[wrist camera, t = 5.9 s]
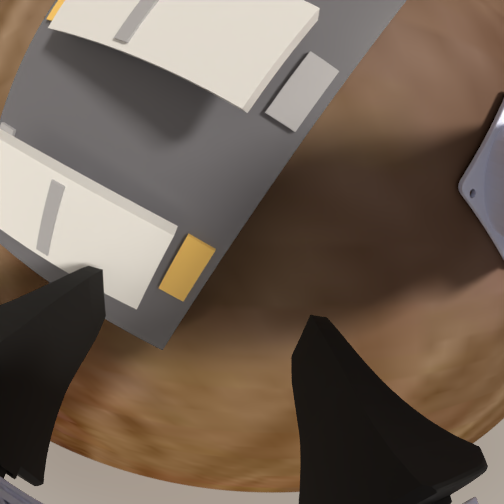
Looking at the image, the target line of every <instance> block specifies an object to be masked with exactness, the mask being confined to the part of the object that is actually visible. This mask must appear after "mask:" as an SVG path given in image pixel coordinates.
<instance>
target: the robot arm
mask: <svg viewBox="0 0 504 504" xmlns="http://www.w3.org/2000/svg"><path fill="white" fill-rule="evenodd" d="M458 188H459V192H460V194H461V195H462V196H463V198H464V199H465V200H466V202H467V203H468V205H469V206H470V207H471V209H472V210H473V212H474V213H475V214H476V216H477V217H478V219H479V220H480V222H481V223H482V225H483V226H484V228H485V230H486V231H487V233H488V234H489V236H490V238H491V239H492V241H493V242H494V244H495V246H496V248H497V249H498V251H499V253H500V254H501V256H502V258H503V260H504V99H503V101H502V104H501V106H500V108H499V110H498V112H497V114H496V116H495V119H494V121H493V123H492V125H491V127H490V129H489V131H488V132H487V134H486V136H485V138H484V140H483V142H482V144H481V146H480V147H479V149H478V151H477V153H476V154H475V156H474V158H473V160H472V161H471V163H470V165H469V166H468V168H467V170H466V171H465V173H464V175H463V176H462V178H461V180H460V182H459V186H458ZM470 191H471V195H470ZM105 317H106V311H105V299H104V283H103V270H102V269H99V268H95V267H91V266H86V267H83V268H81V269H79V270H76V271H74V272H72V273H70V274H68V275H66V276H64V277H62V278H60V279H57V280H55V281H53V282H51V283H49V284H47V285H45V286H43V287H41V288H39V289H37V290H35V291H32V292H30V293H28V294H26V295H24V296H21V297H19V298H17V299H15V300H12V301H10V302H7V303H5V304H2V305H0V504H43V503H41V502H39V501H38V500H36V499H34V498H32V497H31V496H29V495H27V494H26V493H24V492H23V491H21V490H20V489H18V488H16V487H15V486H13V485H12V484H10V483H9V482H7V481H6V480H5V479H4V476H5V474H8V475H9V476H11V477H12V478H14V479H15V478H16V476H17V475H18V476H19V477H21V478H22V479H24V480H25V481H27V482H29V483H30V484H32V485H34V486H39V485H42V484H43V482H44V471H45V464H46V458H47V452H48V447H49V443H50V439H51V435H52V431H53V428H54V424H55V421H56V418H57V414H58V412H59V409H60V406H61V403H62V401H63V398H64V395H65V393H66V391H67V389H68V387H69V384H70V383H71V381H72V379H73V377H74V375H75V374H76V372H77V370H78V368H79V367H80V365H81V363H82V361H83V360H84V358H85V356H86V355H87V353H88V351H89V350H90V348H91V346H92V344H93V343H94V341H95V339H96V337H97V335H98V333H99V331H100V328H101V326H102V324H103V321H104V319H105ZM292 386H293V393H294V400H295V407H296V414H297V421H298V428H299V435H300V455H301V470H300V494H299V504H451V502H452V500H451V497H450V495H451V494H452V493H454V492H456V491H457V490H459V489H461V488H462V487H464V486H465V485H467V484H469V483H470V482H472V481H473V480H475V479H476V478H477V477H479V476H480V475H481V474H483V473H484V472H485V471H486V469H487V467H488V466H487V463H486V460H485V458H484V456H483V453H482V451H481V449H480V447H479V446H476V445H474V444H472V443H470V442H468V441H466V440H463V439H461V438H459V437H457V436H455V435H453V434H451V433H449V432H448V431H446V430H444V429H443V428H441V427H439V426H438V425H436V424H434V423H433V422H431V421H430V420H428V419H427V418H426V417H424V416H423V415H421V414H420V413H419V412H417V411H416V410H415V409H413V408H412V407H411V406H410V405H408V404H407V403H406V402H405V401H403V400H402V399H401V398H400V397H399V396H398V395H397V394H396V393H395V392H393V391H392V390H391V389H390V388H389V387H388V386H387V385H386V384H385V383H384V382H383V381H382V380H381V379H380V378H379V377H378V376H377V375H376V374H375V373H374V372H373V371H372V370H371V368H370V367H369V366H368V365H367V364H366V363H365V362H364V361H363V359H362V358H361V357H360V356H359V355H358V354H357V352H356V351H355V350H354V349H353V348H352V346H351V345H350V344H349V343H348V342H347V340H346V339H345V338H344V337H343V336H342V334H341V333H340V332H339V331H338V330H337V328H336V327H335V326H334V325H333V324H332V323H331V322H330V320H329V319H328V318H327V317H320V316H314V315H310V317H309V319H308V322H307V324H306V326H305V328H304V330H303V333H302V335H301V337H300V339H299V341H298V344H297V346H296V348H295V350H294V352H293V354H292ZM463 504H478V501H477V498H476V497H473V498H472V499H470V500H468V501H466V502H465V503H463Z"/></svg>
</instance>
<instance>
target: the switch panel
mask: <svg viewBox="0 0 504 504" xmlns="http://www.w3.org/2000/svg"><path fill="white" fill-rule="evenodd" d="M64 1H65V0H56V1H55V2H54V4H53V5H52V7H51V8H50V10H49V11H48V13H47V15H46V16H45V18H44V20H43V21H42V23H41V25H40V27H39V28H38V30H37V32H36V34H35V36H34V38H33V40H32V41H31V43H30V45H29V47H28V49H27V51H26V54H25V56H24V58H23V60H22V62H21V64H20V67H19V69H18V71H17V74H16V76H15V79H14V81H13V84H12V86H11V89H10V92H9V94H8V97H7V100H6V103H5V106H4V109H3V112H2V115H1V119H0V129H1V130H3V131H5V132H7V133H8V134H10V135H12V136H14V137H16V138H17V139H19V140H21V141H23V142H24V143H26V144H28V145H30V146H32V147H33V148H35V149H37V150H39V151H41V152H42V153H44V154H46V155H48V156H49V157H51V158H53V159H55V160H57V161H59V162H60V163H62V164H64V165H66V166H68V167H69V168H71V169H73V170H75V171H77V172H78V173H80V174H82V175H84V176H86V177H88V178H89V179H91V180H93V181H95V182H97V183H99V184H100V185H102V186H104V187H106V188H108V189H110V190H112V191H113V192H115V193H117V194H119V195H121V196H123V197H124V198H126V199H128V200H130V201H132V202H134V203H136V204H137V205H139V206H141V207H143V208H145V209H147V210H149V211H151V212H152V213H154V214H156V215H158V216H160V217H162V218H164V219H165V220H167V221H169V222H171V223H173V224H175V225H177V226H178V227H177V230H176V232H175V235H174V237H173V239H172V241H171V242H170V244H169V246H168V248H167V250H166V252H165V254H164V256H163V258H162V260H161V261H160V263H159V265H158V267H157V269H156V271H155V273H154V275H153V277H152V279H151V281H150V283H149V285H148V287H147V289H146V291H145V293H144V295H143V298H142V300H141V302H140V304H139V306H138V308H137V309H135V308H133V307H130V306H128V305H126V304H124V303H122V302H120V301H119V300H117V299H115V298H113V297H111V296H109V295H107V294H105V293H104V299H105V311H106V317H105V319H106V320H108V321H110V322H111V323H113V324H115V325H116V326H118V327H120V328H122V329H123V330H125V331H127V332H129V333H131V334H132V335H134V336H136V337H138V338H140V339H142V340H144V341H146V342H147V343H149V344H151V345H153V346H155V347H157V348H159V349H161V350H163V348H164V347H165V345H166V344H167V342H168V341H169V339H170V337H171V336H172V334H173V333H174V331H175V330H176V328H177V326H178V325H179V323H180V322H181V320H182V319H183V317H184V316H185V314H186V312H187V311H188V309H189V308H190V306H191V305H192V303H193V302H194V300H195V299H196V297H197V295H198V294H199V292H200V291H201V289H202V288H203V286H204V285H205V283H206V282H207V280H208V279H209V277H210V276H211V274H212V273H213V271H214V270H215V268H216V267H217V265H218V264H219V262H220V260H221V259H222V257H223V256H224V254H225V253H226V251H227V250H228V248H229V247H230V245H231V244H232V242H233V241H234V239H235V238H236V237H237V235H238V234H239V232H240V231H241V229H242V228H243V226H244V225H245V223H246V222H247V220H248V219H249V217H250V216H251V214H252V213H253V211H254V210H255V208H256V207H257V205H258V204H259V203H260V201H261V200H262V198H263V197H264V195H265V194H266V192H267V191H268V189H269V188H270V187H271V185H272V184H273V182H274V181H275V179H276V178H277V176H278V175H279V174H280V172H281V171H282V169H283V168H284V166H285V165H286V163H287V162H288V161H289V159H290V158H291V156H292V155H293V153H294V152H295V151H296V149H297V148H298V146H299V145H300V143H301V142H302V141H303V139H304V138H305V136H306V135H307V134H308V132H309V131H310V129H311V128H312V127H313V125H314V124H315V122H316V121H317V120H318V118H319V117H320V115H321V114H322V113H323V111H324V110H325V108H326V107H327V106H328V104H329V103H330V101H331V100H332V99H333V97H334V96H335V95H336V93H337V92H338V90H339V89H340V88H341V86H342V85H343V84H344V82H345V81H346V80H347V78H348V77H349V75H350V74H351V73H352V71H353V70H354V69H355V67H356V66H357V65H358V63H359V62H360V61H361V59H362V58H363V57H364V55H365V54H366V53H367V51H368V50H369V49H370V47H371V46H372V45H373V43H374V42H375V41H376V39H377V38H378V37H379V35H380V34H381V33H382V31H383V30H384V29H385V27H386V26H387V25H388V24H389V22H390V21H391V20H392V18H393V17H394V16H395V14H396V13H397V12H398V11H399V9H400V8H401V7H402V5H403V4H404V3H405V2H406V0H304V1H306V2H309V3H311V4H313V5H315V6H317V7H319V8H320V10H319V16H318V21H317V22H316V23H315V24H314V26H313V27H312V28H311V29H310V30H309V32H308V33H307V34H306V35H305V36H304V38H303V39H302V40H301V41H300V43H299V44H298V45H297V46H296V48H295V49H294V50H293V52H292V53H291V54H290V55H289V57H288V58H287V59H286V61H285V62H284V63H283V65H282V66H281V67H280V69H279V70H278V71H277V73H276V74H275V75H274V77H273V78H272V79H271V81H270V82H269V83H268V85H267V86H266V88H265V89H264V90H263V92H262V93H261V95H260V96H259V97H258V99H257V100H256V102H255V103H254V105H253V106H252V107H251V109H250V110H249V112H248V113H246V112H244V111H243V110H241V109H239V108H238V107H236V106H234V105H232V104H230V103H229V102H227V101H225V100H223V99H222V98H220V97H218V96H216V95H214V94H212V93H210V92H209V91H207V90H205V89H203V88H201V87H199V86H197V85H195V84H193V83H191V82H189V81H187V80H185V79H183V78H181V77H179V76H177V75H175V74H172V73H170V72H168V71H166V70H164V69H162V68H159V67H157V66H155V65H153V64H150V63H148V62H146V61H143V60H141V59H138V58H136V57H133V56H131V55H128V54H126V53H123V52H121V51H118V50H115V49H113V48H110V47H107V46H104V45H102V44H99V43H96V42H93V41H90V40H87V39H83V38H80V37H77V36H74V35H70V34H67V33H63V32H60V31H57V30H53V29H50V28H48V27H49V25H50V23H51V22H52V20H53V18H54V17H55V15H56V13H57V12H58V10H59V9H60V7H61V6H62V4H63V3H64ZM0 244H1V245H2V246H4V247H5V248H6V249H7V250H8V251H9V252H11V253H12V254H13V255H14V256H15V257H17V258H18V259H19V260H20V261H22V262H23V263H24V264H25V265H27V266H28V267H29V268H31V269H32V270H33V271H35V272H36V273H37V274H39V275H40V276H41V277H43V278H44V279H45V280H47V281H48V282H50V283H51V282H53V281H55V280H57V279H60V278H62V277H64V276H66V275H68V274H69V273H67V272H66V271H64V270H62V269H60V268H59V267H57V266H55V265H54V264H52V263H51V262H49V261H47V260H46V259H44V258H43V257H41V256H39V255H38V254H36V253H35V252H33V251H32V250H30V249H29V248H27V247H25V246H24V245H22V244H21V243H20V242H18V241H17V240H15V239H14V238H12V237H11V236H9V235H8V234H7V233H5V232H4V231H2V230H1V229H0Z"/></svg>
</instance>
